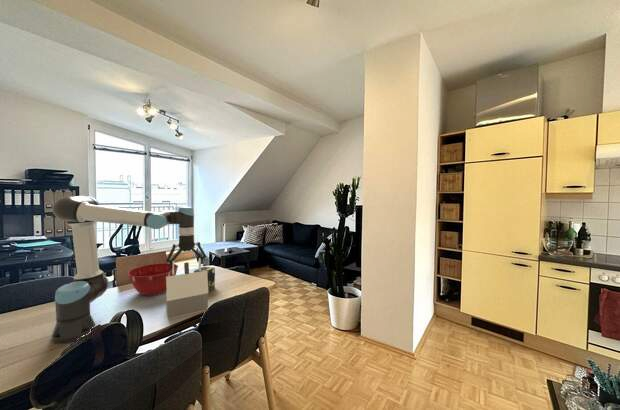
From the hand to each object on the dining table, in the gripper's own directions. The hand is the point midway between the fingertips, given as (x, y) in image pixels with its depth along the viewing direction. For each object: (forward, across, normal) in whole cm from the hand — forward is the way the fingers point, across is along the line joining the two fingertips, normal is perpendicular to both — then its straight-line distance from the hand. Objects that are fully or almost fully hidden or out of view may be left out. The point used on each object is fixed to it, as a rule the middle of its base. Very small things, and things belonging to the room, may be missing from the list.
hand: (186, 271), depth 142 cm
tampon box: (+23, +14, +26) cm, 37 cm away
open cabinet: (+22, 0, +1) cm, 23 cm away
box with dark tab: (+5, 0, +2) cm, 6 cm away
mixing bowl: (+23, -15, +40) cm, 48 cm away
